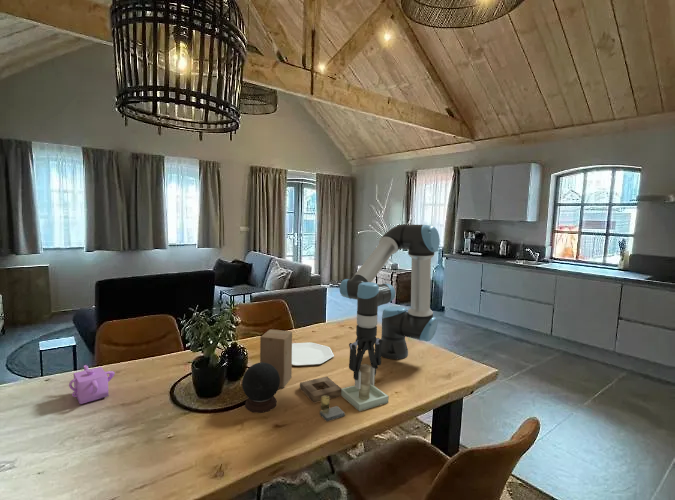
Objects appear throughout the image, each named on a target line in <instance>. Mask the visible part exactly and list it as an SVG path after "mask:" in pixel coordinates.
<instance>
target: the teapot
mask: <svg viewBox="0 0 675 500" xmlns="http://www.w3.org/2000/svg"><path fill="white" fill-rule="evenodd" d="M108 375H109V376H108ZM114 377H115V371H112V370H109V371H105V370H104V369H103V367H102V366H99V367H94V368H91V369H90V368H89V366H88V365H87V364H85V365H83V370H82V371H78V372H77V371H76V372H74V373H73V379H71V380H70V381H69V384H68V386H69V388H70V389H71V391H72V393H71V396H72V397H73V398H76V400H77V402H78V403H79V405H82V404H83V405H84V404H86V403H89V402H93V401H96V400H100V399H103V398H107V397H109V382H110V381H111V380H112V379H113V378H114ZM72 384H73V385H72Z"/></svg>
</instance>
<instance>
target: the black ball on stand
mask: <svg viewBox="0 0 675 500" xmlns="http://www.w3.org/2000/svg"><path fill="white" fill-rule="evenodd" d="M241 384H242V385H241V386H242V389H243V393H244V394H245V396H246V397H247V399H246V401H245V402H244V408H245V409H246V410H247V411H248V412H250V413H257V414H261V413H268V412H270V411H273V410H274V409H275V408H276V407H277V405H278V399H277V398H276V397H275V395H276V394H277V392H279V391H278V390H279V389H280V388H279V385H280V376H279V373H278V371H277V370H276V368H275V367H274V366H272V365H271V364H269V363H264V362H261V363H260V362H257V363H255V364H253V365H251V366H250V367H248V369H246V371H245V373H244V374H243V377H242V382H241Z"/></svg>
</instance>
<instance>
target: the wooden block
mask: <svg viewBox="0 0 675 500" xmlns="http://www.w3.org/2000/svg"><path fill="white" fill-rule="evenodd" d="M259 338H260V339H259V341H260V345H259V350H260V351H259V352H260V353H259V363H261V362H264V363H269V364H271V365H272V366H274V367H275V368H276V370H277V371H278V373H279V376H280V385H279V389H284V388H285V387H286V386H287V385H288V383H289V382H290V380H291V379H292V377H293V376H292V373H293V372H292V370H293V369H292V367H293V365H292V343H293V331H290V330H279V329H268V330H267V331H266V332H264V334H263V335H261V336H260V337H259Z"/></svg>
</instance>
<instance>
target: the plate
mask: <svg viewBox="0 0 675 500" xmlns="http://www.w3.org/2000/svg"><path fill="white" fill-rule="evenodd" d="M334 357H335V355H334V353H333V351H332V349H331V347H330V346H327V345H324V344H323V345H322V344H319V343H316V342H311V341H310V342H309V341H308V342H292V367H293V366H294V367H303V366H304V367H305V366H318V365H322V364H324V363H326V362H327V361H329V360H331V359H332V358H334Z"/></svg>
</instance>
